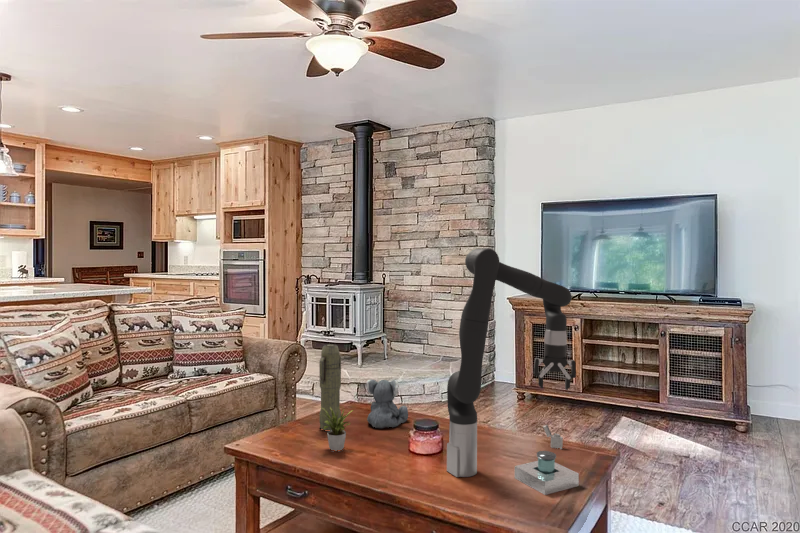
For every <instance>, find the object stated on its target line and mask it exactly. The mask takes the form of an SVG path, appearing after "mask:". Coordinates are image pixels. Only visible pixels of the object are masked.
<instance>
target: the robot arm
mask: <svg viewBox="0 0 800 533" xmlns="http://www.w3.org/2000/svg"><path fill="white" fill-rule="evenodd" d="M464 260H465V261H464V263H465V267H466V269H467V271H468V272H470V274H472V275H473V284H472V288H471V290H470V291H471V292H470V294H469V296H468V298H467V301H466V302H465V304H464V307H463V309H462V312H461V318H460V323H459V331H458V334H459V336H458V338H459V346H460V355H461V358H460V359H461V361H460V367H459V370H457V371H455V372H453V373H452V374H451V375H450V377H449V379H448V381H447V386H446V393H447V396H446V397H447V401H446V402H447V411H448V415H449V427H448V428H449V432H448V433H449V436H448V438H449V439H448V440H449V442H447V443H446V472H448V473H450V474H451V475H453V476H454V477H455V478H459V477H460V478H461V477H462V478H469V477H474V476H475V475H477V473H478V413H477V410H476V408H475V401H476V400H477V399H478V398H479V396H480V393H481V389H482V376H483V375H482V372H483V370H482V369H483V359H484V354H485V348H486V342H487V341H486V340H487V335H488V328H489V321H490V315H491V314H490V313H491V307H492V301H493V294H494V288H495V284H496V281H498V282H501V283H503V284H505V285H508V286H510V287H512V288H514V289H516V290H518V291H520V292H522V293H524V294H527V295H529V296H531V297H535V298H538V299H542V304H543V305H542V306H543V309H544V314H545V332H544V339H543V342H544V344H543V346H544V347H543V348H544V350H543V358H538V357H535V358H534V362H533V363H534V364H533V375H534V376H536V377H537V378H538V386H539V388H540V389H544V376H545V375H546V374H547V373H548V372H550V373H554V372H555V373H561V372H562V373H563V375H564V376H565V379H564V389H565V390H566V391H568V390H569V389H570V388H571V379H575V378H577V368H576V367H577V366H576V360H574V359H571V360H568V358H567V345H568V344H567V342H568V341H567V340H568V336H567V315H566V314H564V313H563V312H562V307H566V306H568V305H569V304H570V303H571V302H572V296H573V295H572V292H571V291H570V290H569V289H568V288H566V286H564V285H561V284H557V283H555V282H551V281H549V280H547V279H544V278H542V277H540V276H538V275H535V274H534V273H532V272H529V271H526V270H522V269H519V268H516V267H513V266H510V265H508V264H506V263H502V262H501V261H500V257H499V255H498V253H497V252H496V251H495V250H494V249H492V248H486V247H485V248H482V247H481V248H475V249H472V250H471V251H469V252H468V253H467V254H466V256H465V259H464ZM541 364H543V365H544V366H543V367H542V369H541V370H540V371H539V366H541ZM567 365H568V366H569V367H570V373H568V372H567V370H566V369H565V368H566V366H567Z"/></svg>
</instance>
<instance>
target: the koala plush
mask: <svg viewBox="0 0 800 533" xmlns="http://www.w3.org/2000/svg"><path fill="white" fill-rule="evenodd" d="M399 387H400V385H399V381H398V379H395V380H391V381H389V380H387V379H381V380H379V381H376V380H375V379H368V380H367V381H366V387H365V388H366V391H367V393H368V394H369V395H372V397H373V399H374V401H373V402H371V404H370V413H369V414H368V416H367V420H366V421H367V422H368V424H370V425H371V426H372V427H373V428H374V427H375V428H374V429H384V428H389V427H392V428H396V427H398V426H399V425H401V423H402V424H404V423H406V422H407V420H408V419H409V412H408V410H409V409H408V406H406V405H401V406H400V407H398V406H397V405H396V404H395V402H394V399H395V398H396V396H397V395H398V394H399Z"/></svg>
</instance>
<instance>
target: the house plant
mask: <svg viewBox="0 0 800 533" xmlns="http://www.w3.org/2000/svg"><path fill="white" fill-rule="evenodd" d="M322 409H323V408H322ZM330 409H331V412H332V419H331V418H330V416H329V414H328V412H327V411H326V410H325V409H324V410H325V411H326V413H327V415H326V414H325V415H326V416H327V417H328V418H329V419H330V421H331V423H332V424H333V425H332V424H331V423H330V422H329V421H325V422H324V423H327V424H328V425H329V426H330V428H331V429H332V430H330V429H329V428H328V427H329V426H325V427H324V429H326V428H328V429H329V430H330V431H326V432H327V433H326V434H327V441H328V448H330V449H331V450H335V451H337V450H342V449H343V448H345V444H346V443H345V442H346V437H347V436H346V435H347V431H345V428H346V427H347V426H349V425H350V423H349V421H345V419H346V418H347V417H348V416H349V415H350V414H351V412H353V411H354V409H352V410H349V412H348V413H347V414H344V412H345V409H343V410H342V411H341V417H340V418H339V419H338V421H337V416H338V413H337V415H336V416H335V413H334V412H333V410H332V408H331V407H330ZM337 411H338V410H337ZM323 414H324V413H323ZM322 416H323V415H322ZM324 417H325V416H324ZM325 418H326V417H325ZM326 419H327V418H326ZM327 420H328V419H327ZM320 425H322V424H320V423H319V426H320ZM344 425H345V426H344ZM324 429H323V430H324ZM330 449H329V450H330ZM343 450H344V449H343ZM343 450H342V451H343Z"/></svg>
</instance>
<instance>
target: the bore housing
mask: <svg viewBox="0 0 800 533" xmlns="http://www.w3.org/2000/svg"><path fill="white" fill-rule="evenodd" d="M579 476H580V475H579V472H577V471H574V470H572V469H570V468H568V467H565V466H564V465H562V464H559V463H558V462H555V473H551V474H547V475H545V474H543V473H541V472H539V471H538V460H534V461H531V462H527V463H521V464H517V465H514V479H515V480H517V481H519V482H521V483H522V484H524V485H527V487H530V488H532V489H534V490H535V491H537V492H538V493H541V494H542V495H544V496H546V495H550V494H551V495H552V494H555V493H558V492H561V491H565V490H570V489H573V488H576V487H579V483H580V481H579Z"/></svg>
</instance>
